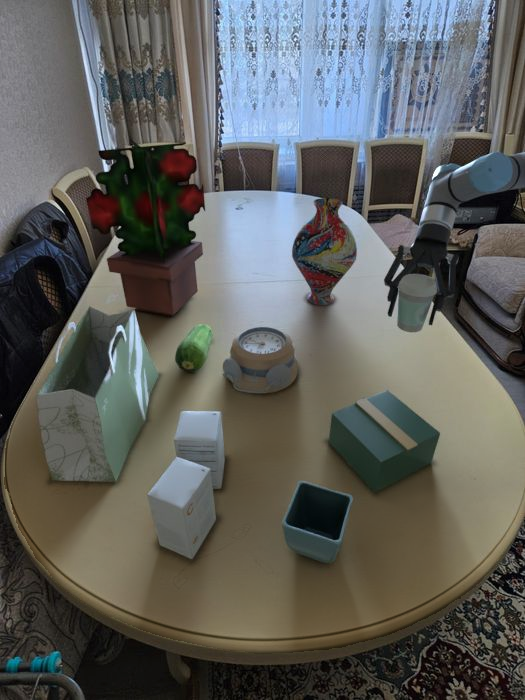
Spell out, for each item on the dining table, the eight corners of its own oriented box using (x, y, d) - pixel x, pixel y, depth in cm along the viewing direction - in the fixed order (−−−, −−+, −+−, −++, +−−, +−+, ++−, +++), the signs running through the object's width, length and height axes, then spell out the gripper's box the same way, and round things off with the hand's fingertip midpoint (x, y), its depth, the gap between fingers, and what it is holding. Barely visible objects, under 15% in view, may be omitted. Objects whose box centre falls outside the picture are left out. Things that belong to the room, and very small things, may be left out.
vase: (293, 314, 132) (297, 213, 115) (288, 285, 148) (290, 193, 131) (356, 313, 133) (369, 212, 116) (345, 284, 148) (355, 192, 131)
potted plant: (151, 283, 150) (127, 137, 124) (211, 293, 144) (199, 141, 118) (112, 315, 133) (75, 152, 107) (179, 328, 126) (156, 158, 101)
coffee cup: (411, 339, 103) (421, 292, 96) (383, 323, 109) (391, 278, 102) (435, 328, 106) (447, 282, 100) (408, 313, 112) (416, 269, 106)
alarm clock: (303, 324, 110) (288, 382, 91) (301, 355, 115) (287, 415, 97) (236, 317, 113) (208, 372, 94) (237, 347, 118) (211, 405, 100)
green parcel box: (432, 463, 85) (441, 432, 81) (375, 493, 80) (382, 462, 75) (381, 418, 96) (387, 388, 91) (327, 441, 90) (331, 411, 86)
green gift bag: (123, 482, 82) (95, 383, 69) (48, 480, 83) (7, 382, 70) (161, 375, 109) (146, 289, 95) (104, 374, 109) (82, 288, 96)
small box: (185, 506, 78) (176, 455, 71) (217, 519, 76) (211, 467, 68) (158, 546, 72) (145, 494, 64) (192, 561, 70) (183, 509, 62)
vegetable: (176, 347, 103) (200, 306, 120) (166, 368, 107) (190, 326, 124) (205, 361, 104) (224, 319, 121) (194, 382, 108) (214, 338, 125)
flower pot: (297, 513, 77) (299, 478, 72) (348, 530, 74) (354, 495, 69) (280, 559, 70) (280, 524, 65) (335, 579, 67) (340, 544, 62)
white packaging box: (187, 458, 87) (180, 409, 80) (225, 459, 87) (222, 410, 80) (180, 489, 81) (172, 439, 74) (221, 490, 81) (217, 440, 73)
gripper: (481, 243, 105) (457, 333, 103) (390, 230, 113) (365, 314, 110) (485, 228, 98) (460, 324, 96) (388, 215, 106) (362, 304, 103)
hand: (409, 319), depth 103 cm, fingers closed on coffee cup, 8 cm apart
